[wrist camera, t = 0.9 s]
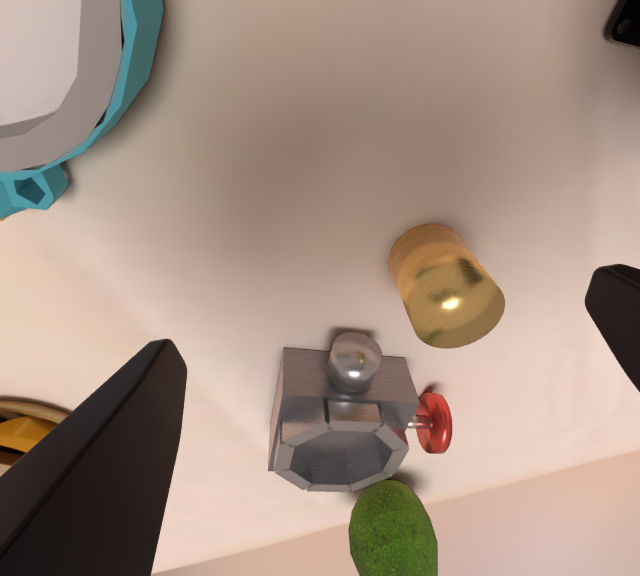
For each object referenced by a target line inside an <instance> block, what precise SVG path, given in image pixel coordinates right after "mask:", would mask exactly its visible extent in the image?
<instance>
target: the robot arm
mask: <svg viewBox="0 0 640 576" xmlns="http://www.w3.org/2000/svg"><path fill="white" fill-rule="evenodd" d="M622 22H624V26H623V29H622V30H621V31H620V32H619V33H618V28H619V25H620V24H621V23H622ZM605 36H606V39H607V40H609V41H611V42H615V43H619V44H623V45H627V46H631V47H635V48H639V49H640V0H620V1H619V3H618V5H617V7H616V9H615V11H614V13H613V15H612V17H611V19H610V20H609V22H608V24H607V27H606V30H605ZM585 306H586V309H587V311H588V313H589V314H590V316H591V318H592V319H593V321H594V323H595V324H596V326H597V328H598V329H599V331H600V333H601V334H602V336H603V338H604V339H605V341H606V343H607V344H608V346H609V348H610V349H611V351H612V352H613V354H614V356H615V357H616V359H617V361H618V362H619V364H620V365H621V367H622V369H623V370H624V372H625V373H626V374H627V376H628V377H629V379H630V380H631V381H632V383H633V384H634V385H635V387H636V388H637V389H638V391H639V392H640V269H637V268H634V267H630V266H627V265H623V264H614V265H608V266H602V267H599V268H597V269H596V270H595V271H594V273H593V276H592V279H591V282H590V285H589V288H588V291H587V294H586V297H585ZM186 380H187V367H186V364H185V361H184V360H183V358H182V356H181V355H180V353H179V351H178V349H177V348H176V346H175V344H174V343H173V341H172V340H170V339H161V340H155V341H151V342H149V343H148V344H147V345H146V346H145V347H144V348H142V349H141V350H140V351H139V352H138V353H137V354H136V355H135V356H134V357H132V358H131V359H130V360H129V361H128V362H127V363H126V364H125V365H124V366H122V367H121V368H120V369H119V370H118V371H117V372H116V373H115V374H114V375H112V376H111V377H110V378H109V379H108V380H107V381H106V382H105V383H104V384H102V385H101V386H100V387H99V388H98V389H97V390H96V391H95V392H94V393H92V394H91V395H90V396H89V397H88V398H87V399H86V400H85V401H84V402H82V403H81V404H80V405H79V406H78V407H77V408H76V409H75V410H73V411H72V412H71V413H70V414H69V415H68V416H67V417H66V418H65V419H63V420H62V421H61V422H60V423H59V424H58V425H57V426H56V427H55V428H53V429H52V430H51V431H50V432H49V433H48V434H47V435H46V436H45V437H43V438H42V439H41V440H40V441H39V442H38V443H37V444H36V445H35V446H33V447H32V448H31V449H30V450H29V451H28V452H27V453H26V454H25V455H23V456H22V457H21V458H20V459H19V460H18V461H17V462H16V463H15V464H13V465H12V466H11V467H10V468H9V469H8V470H7V471H6V472H5V473H3V474H2V475H1V476H0V576H151V571H152V567H153V562H154V558H155V553H156V548H157V544H158V539H159V535H160V530H161V525H162V521H163V516H164V511H165V507H166V502H167V498H168V493H169V488H170V484H171V479H172V475H173V470H174V465H175V461H176V456H177V452H178V447H179V441H180V435H181V428H182V419H183V409H184V399H185V390H186Z"/></svg>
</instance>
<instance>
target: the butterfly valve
mask: <svg viewBox="0 0 640 576" xmlns="http://www.w3.org/2000/svg"><path fill="white" fill-rule="evenodd" d="M163 12H164V10H163V5H162V0H0V221H2V220H4V219H5V218H7V217H8V216H10V215H11V214H14V213H17V212H20V211H22V210H25V209H28V208H32V209H42V210H47V209H48V208H49V207H50V206H51V205H52V204H53V203H54V202H55V201H56V200H57V199H59V198H60V197H61V196H62V194H63V192H64V191H65V189H66V187H67V186H68V182H67V180H66V178H65V175H64V173H63V171H62V168H61V166H60V164H59V163H61V162H64V161H66V160H68V159H70V158H72V157H74V156H76V155H79V154H81V153H83V152H84V151H86V150H87V149H88V148H89V147H90V146H92V145H93V144H94V143H95V142H96V141H98V140H99V139H100V138H101V137H102V136H104V135H105V134H106V133H107V132H108V131H110V130H111V129H112V128H113V127H114V126H115V125H116V124H117V123H118V121H119V120H120V118H121V117H122V116H123V114H124V113H125V111H126V110H127V109H128V107H129V106H130V104H131V103H132V102H133V100H134V99H135V97H136V96H137V95H138V93H139V92H140V90H141V89H142V88H143V86H144V85H145V83H146V82H147V80H148V79H149V77H150V72H151V68H152V63H153V58H154V54H155V49H156V44H157V40H158V35H159V30H160V26H161V21H162V16H163Z"/></svg>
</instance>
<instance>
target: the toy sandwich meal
mask: <svg viewBox="0 0 640 576" xmlns="http://www.w3.org/2000/svg"><path fill="white" fill-rule="evenodd" d="M68 415H69V414H67V413H65V412H62V411H59V410H57V409H54V408H50V407H47V406H43V405H39V404H34V403H28V402H21V401H0V476H1V475H2V474H3V473H5V472H6V471H7V470H8V469H9V468H10V467H11V466H12V465H13V464H15V463H16V462H17V461H18V460H19V459H20V458H21V457H22V456H23V455H25V454H26V453H27V452H28V451H29V450H30V449H31V448H32V447H33V446H35V445H36V444H37V443H38V442H39V441H40V440H41V439H42V438H43V437H45V436H46V435H47V434H48V433H49V432H50V431H51V430H52V429H53V428H55V427H56V426H57V425H58V424H59V423H60V422H61V421H62V420H63V419H65V418H66V417H67V416H68Z"/></svg>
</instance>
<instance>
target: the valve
mask: <svg viewBox="0 0 640 576" xmlns="http://www.w3.org/2000/svg"><path fill="white" fill-rule="evenodd" d="M415 411H416V415H414V413H415ZM406 428H416V431H417V435H418V439H419V442H420V444H421V446H422V448H423V449H424V450H425V451H426V452H427V453H434V454H442V453H444V452H445V451H446V450H447V449H448V447H449V445H450V442H451V437H452V418H451V413H450V409H449V406H448V404H447V402H446V400H445V399H444V397H443V396H442V395H440V394H438V393H424V394H423V395H422V396H421V397H420V399H418V396H417V393H416V390H415V387H414V384H413V381H412V378H411V375H410V373H409V370H408V367H407V364H406V361H405V358H400V357H388V356H382V352H381V349H380V347H379V345H378V344H377V343H376V342H375V341H374V340H373V339H371V338H370V337H368V336H366V335H364V334H361V333H356V332H346V333H342V334H340V335H338V336H337V337H336V338H335V340H334V342H333V346H332V350H331V352H328V351H316V350H304V349H292V348H283V353H282V359H281V365H280V371H279V376H278V382H277V388H276V394H275V400H274V406H273V411H272V417H271V423H270V440H269V459H268V471H275V473H276V474H278V475H279V476H281V477H283V478H284V479H286V480H287V481H289V482H291V483H292V484H294V485H296V486H297V487H299V488H300V489H302V490H305V489H307V491H325V492H350V490H353V491H356V490H358V489H361V488H364V487H366V486H369V485H371V484H374V483H376V482H379V481H381V480H384V479H387V478H389V477H392V475H391V474H395V473H396V471H397V470H398V468H399V466H400V464H401V463H402V461H403V459H404V457H405V456H406V454H407V452H408V450H409V446H408V442H407V439H406V435H405V430H406Z"/></svg>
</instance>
